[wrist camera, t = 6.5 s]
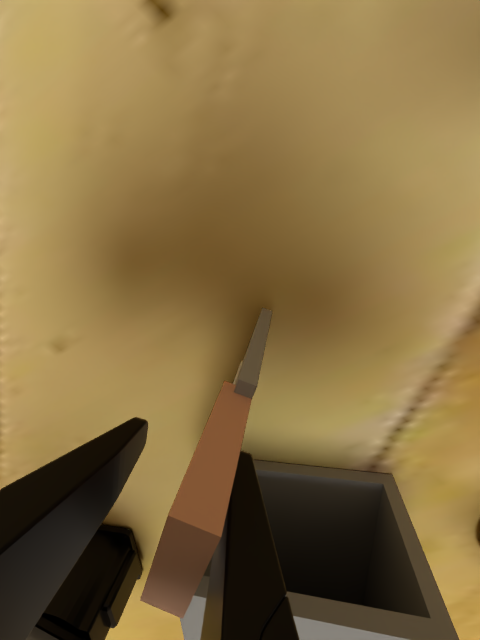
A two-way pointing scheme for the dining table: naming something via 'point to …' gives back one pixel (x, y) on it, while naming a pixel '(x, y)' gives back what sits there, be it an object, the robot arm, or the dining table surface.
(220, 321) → the dining table surface
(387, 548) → the carton
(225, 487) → the flap
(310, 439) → the dining table surface
